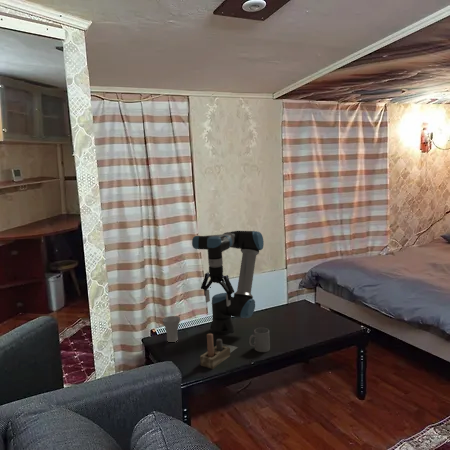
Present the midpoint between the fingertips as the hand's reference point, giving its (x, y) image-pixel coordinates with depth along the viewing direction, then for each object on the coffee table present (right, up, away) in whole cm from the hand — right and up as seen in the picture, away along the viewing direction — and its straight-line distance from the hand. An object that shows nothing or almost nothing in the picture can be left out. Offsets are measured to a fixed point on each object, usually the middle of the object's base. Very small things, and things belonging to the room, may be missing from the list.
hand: (218, 303), depth 224 cm
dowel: (-3, -30, -8) cm, 31 cm away
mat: (+4, -27, +8) cm, 29 cm away
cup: (-27, -27, +23) cm, 45 cm away
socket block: (-1, -29, -5) cm, 30 cm away
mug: (+23, -27, +6) cm, 36 cm away
